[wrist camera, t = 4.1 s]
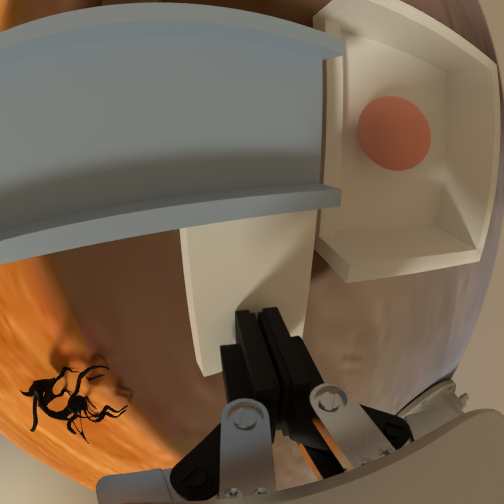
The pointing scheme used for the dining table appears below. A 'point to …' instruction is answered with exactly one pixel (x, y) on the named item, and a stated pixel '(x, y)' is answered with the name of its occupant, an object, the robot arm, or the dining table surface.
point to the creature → (73, 404)
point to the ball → (394, 133)
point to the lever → (171, 148)
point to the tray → (432, 166)
